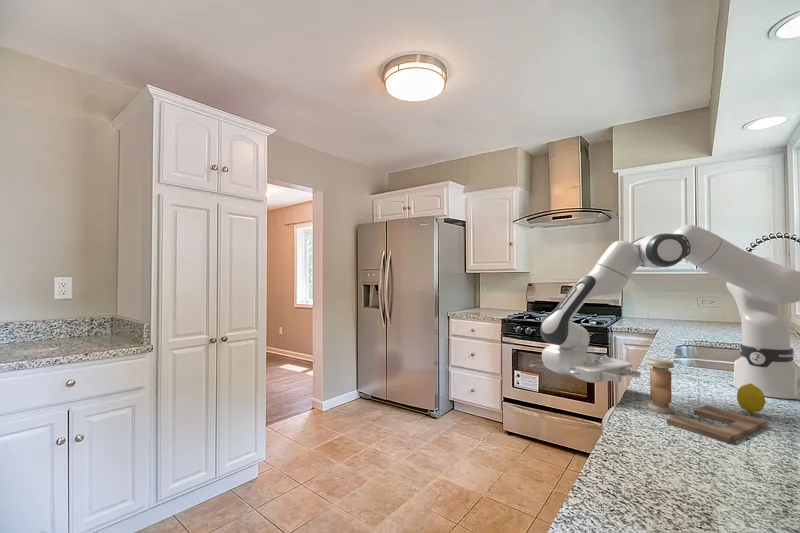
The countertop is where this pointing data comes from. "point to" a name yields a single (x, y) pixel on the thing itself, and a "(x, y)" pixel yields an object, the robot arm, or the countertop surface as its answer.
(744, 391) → the lemon
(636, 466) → the countertop surface
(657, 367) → the bobbin
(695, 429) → the notched board
